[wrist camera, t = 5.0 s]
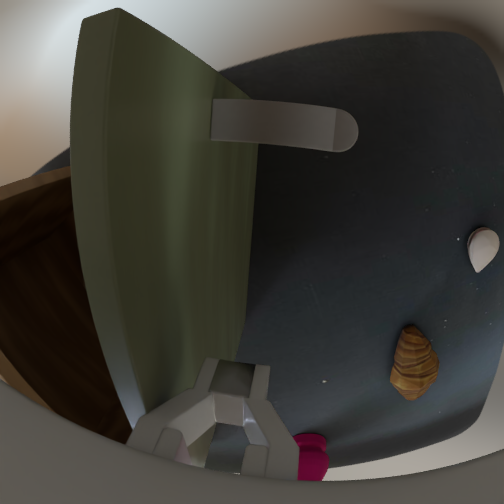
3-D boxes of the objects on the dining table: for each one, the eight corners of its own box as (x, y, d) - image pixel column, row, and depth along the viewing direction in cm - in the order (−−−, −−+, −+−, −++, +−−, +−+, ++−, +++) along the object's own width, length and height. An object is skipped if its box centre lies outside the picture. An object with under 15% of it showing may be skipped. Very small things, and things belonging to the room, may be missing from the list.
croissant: (433, 382, 32) (443, 407, 28) (390, 397, 34) (396, 424, 29) (432, 311, 28) (448, 337, 24) (379, 330, 30) (389, 359, 25)
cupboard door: (322, 113, 22) (444, 23, 3) (293, 328, 31) (275, 527, 11) (251, 106, 23) (80, 18, 3) (237, 320, 32) (175, 509, 12)
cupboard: (120, 154, 26) (-82, 221, 6) (236, 322, 32) (174, 512, 12) (48, 230, 31) (-79, 314, 11) (144, 359, 37) (70, 485, 17)
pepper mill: (285, 431, 39) (272, 543, 21) (331, 430, 38) (330, 543, 20) (285, 450, 42) (273, 549, 24) (326, 450, 41) (323, 549, 23)
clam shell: (493, 225, 23) (506, 233, 21) (485, 267, 25) (496, 277, 23) (466, 223, 24) (478, 231, 22) (458, 267, 26) (468, 278, 23)
